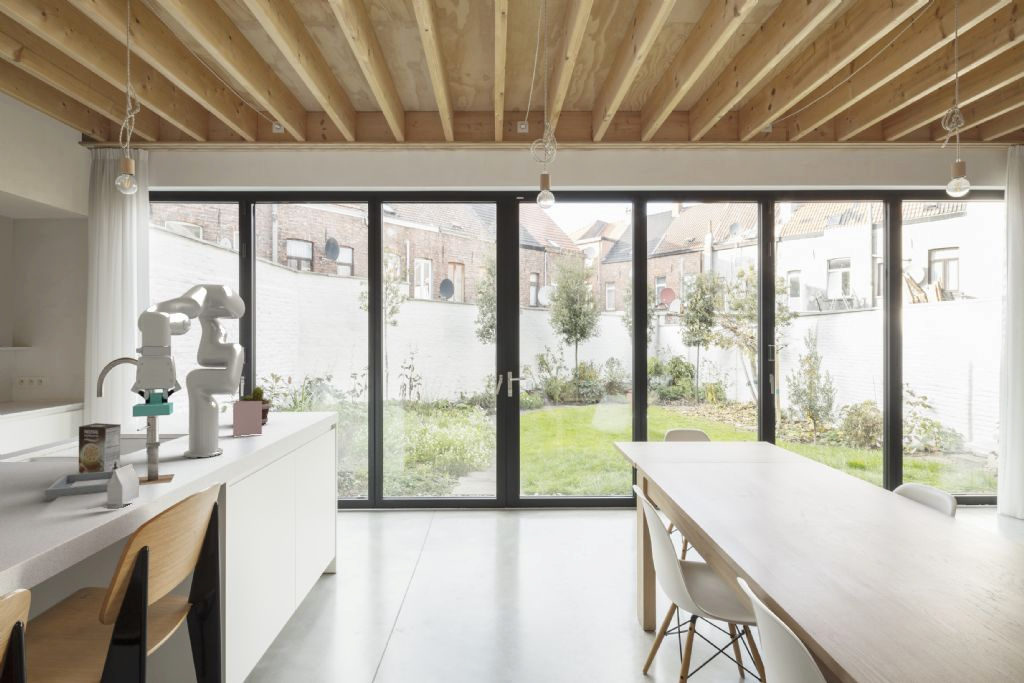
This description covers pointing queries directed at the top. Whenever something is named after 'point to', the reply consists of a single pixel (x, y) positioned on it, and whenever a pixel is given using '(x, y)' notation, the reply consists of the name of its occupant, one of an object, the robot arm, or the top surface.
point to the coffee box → (99, 448)
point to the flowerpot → (259, 396)
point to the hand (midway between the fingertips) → (156, 411)
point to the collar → (153, 407)
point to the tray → (66, 481)
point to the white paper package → (122, 487)
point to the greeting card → (247, 418)
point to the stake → (154, 467)
